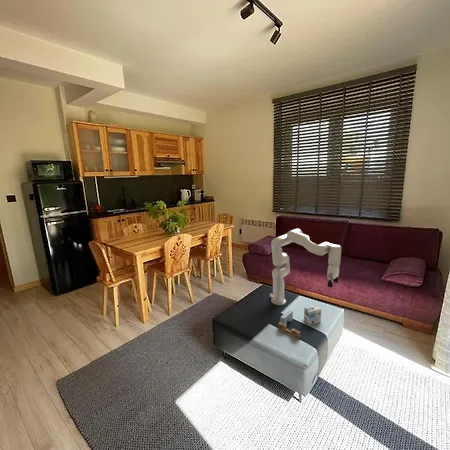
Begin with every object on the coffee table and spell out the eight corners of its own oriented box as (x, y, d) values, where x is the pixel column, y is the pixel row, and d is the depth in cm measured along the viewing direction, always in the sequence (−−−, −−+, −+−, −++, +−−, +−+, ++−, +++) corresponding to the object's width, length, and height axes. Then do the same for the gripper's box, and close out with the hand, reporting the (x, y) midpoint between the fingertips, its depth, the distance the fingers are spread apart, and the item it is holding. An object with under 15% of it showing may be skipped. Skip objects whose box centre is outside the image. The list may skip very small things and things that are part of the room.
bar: (280, 325, 177) (280, 316, 175) (289, 318, 185) (289, 310, 183) (283, 326, 175) (284, 318, 173) (292, 319, 183) (292, 311, 181)
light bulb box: (308, 324, 176) (309, 311, 174) (303, 319, 182) (304, 306, 180) (321, 321, 179) (321, 309, 176) (315, 316, 185) (316, 304, 183)
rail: (278, 329, 172) (278, 323, 171) (279, 327, 174) (280, 321, 172) (298, 339, 161) (298, 333, 160) (299, 338, 162) (300, 331, 161)
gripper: (333, 257, 175) (332, 279, 178) (323, 264, 163) (322, 287, 167) (344, 260, 169) (342, 282, 173) (334, 267, 158) (333, 290, 162)
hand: (332, 284), depth 170 cm, fingers open, 9 cm apart
